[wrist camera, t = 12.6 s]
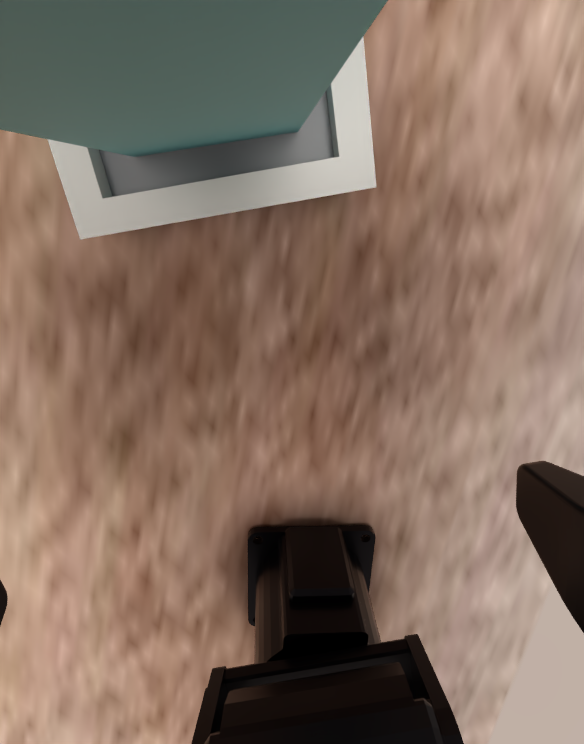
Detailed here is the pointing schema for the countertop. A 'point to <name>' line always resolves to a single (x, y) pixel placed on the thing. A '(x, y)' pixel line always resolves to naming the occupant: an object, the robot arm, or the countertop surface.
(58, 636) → the countertop surface
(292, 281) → the countertop surface
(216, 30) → the tall brick
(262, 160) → the tower base
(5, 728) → the countertop surface
